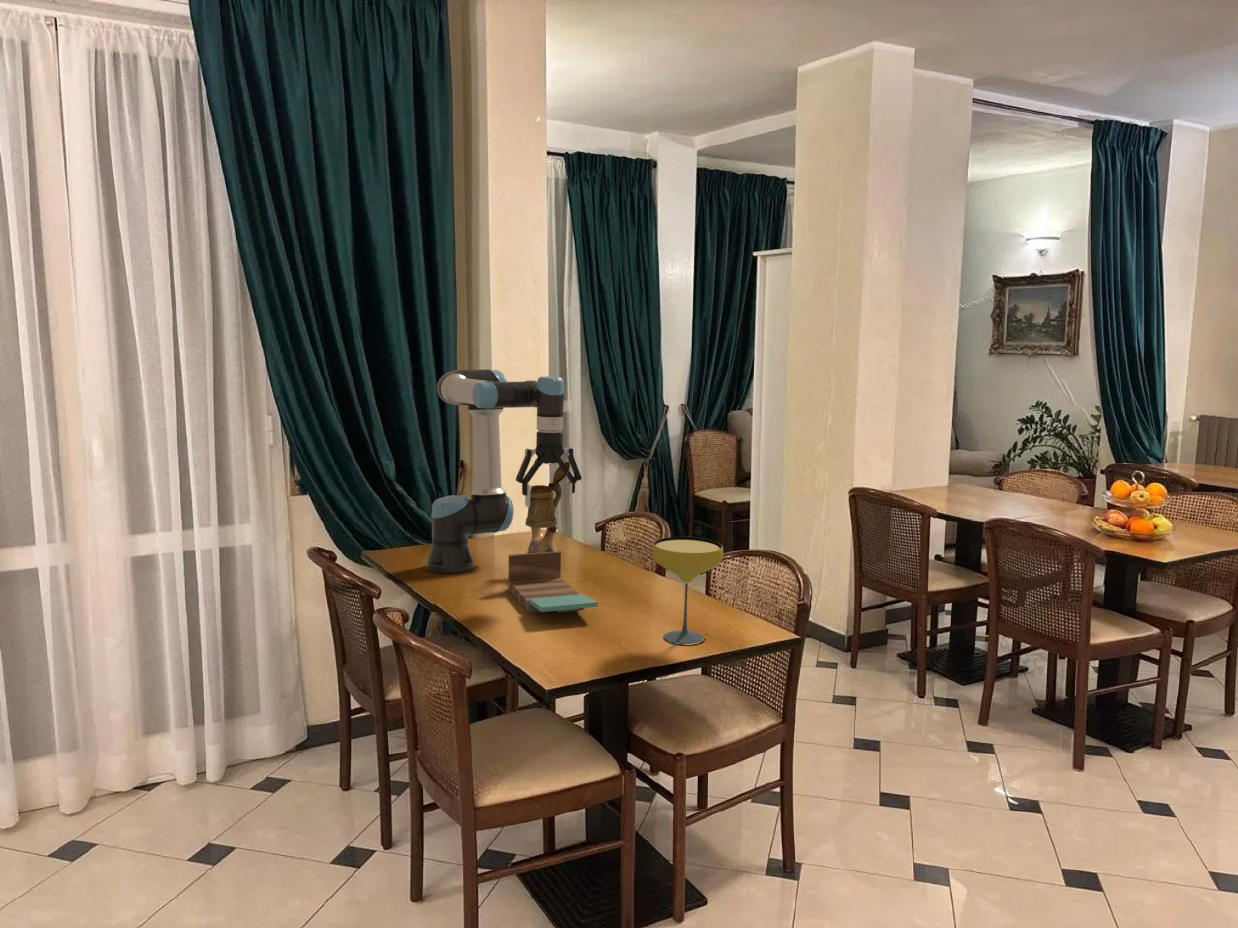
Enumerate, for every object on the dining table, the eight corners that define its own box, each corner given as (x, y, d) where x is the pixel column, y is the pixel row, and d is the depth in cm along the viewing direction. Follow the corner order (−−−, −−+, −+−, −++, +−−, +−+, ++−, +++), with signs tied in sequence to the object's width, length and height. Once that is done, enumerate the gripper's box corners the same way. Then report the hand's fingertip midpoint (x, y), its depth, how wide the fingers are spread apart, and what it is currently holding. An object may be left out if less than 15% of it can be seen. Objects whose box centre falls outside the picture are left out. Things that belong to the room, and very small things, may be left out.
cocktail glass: (733, 638, 236) (737, 545, 232) (691, 656, 223) (694, 557, 219) (678, 622, 248) (681, 533, 244) (635, 638, 235) (638, 544, 231)
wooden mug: (575, 524, 263) (576, 463, 260) (533, 529, 256) (534, 466, 253) (561, 518, 270) (562, 459, 268) (520, 523, 263) (520, 462, 261)
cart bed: (508, 589, 274) (508, 554, 273) (558, 585, 280) (559, 551, 278) (529, 613, 252) (529, 575, 251) (583, 608, 258) (584, 571, 256)
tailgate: (529, 598, 252) (541, 607, 241) (583, 593, 258) (597, 602, 247) (529, 605, 252) (541, 614, 241) (583, 600, 258) (597, 609, 247)
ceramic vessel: (518, 571, 295) (518, 496, 291) (543, 568, 300) (544, 494, 296) (540, 584, 281) (541, 505, 277) (566, 580, 286) (567, 502, 282)
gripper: (512, 433, 251) (511, 510, 254) (593, 431, 260) (592, 505, 263) (505, 430, 258) (504, 504, 261) (585, 428, 267) (583, 500, 270)
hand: (548, 505), depth 262 cm, fingers open, 12 cm apart
